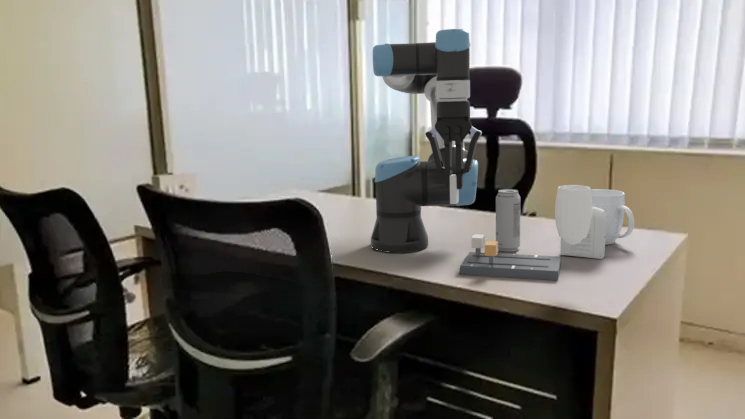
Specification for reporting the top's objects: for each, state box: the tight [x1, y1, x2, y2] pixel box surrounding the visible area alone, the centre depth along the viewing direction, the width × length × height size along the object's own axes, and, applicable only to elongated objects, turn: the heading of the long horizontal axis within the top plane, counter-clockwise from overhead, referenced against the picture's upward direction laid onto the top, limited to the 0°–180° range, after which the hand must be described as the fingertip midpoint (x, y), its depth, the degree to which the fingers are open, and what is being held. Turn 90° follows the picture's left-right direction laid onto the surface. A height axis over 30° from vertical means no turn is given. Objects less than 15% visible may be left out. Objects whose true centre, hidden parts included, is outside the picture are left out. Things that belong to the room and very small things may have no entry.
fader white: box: [471, 233, 486, 255], centre depth 152 cm, size 2×4×4 cm, turn 161°
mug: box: [590, 188, 635, 246], centre depth 166 cm, size 15×11×13 cm
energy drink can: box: [495, 188, 521, 253], centre depth 164 cm, size 6×6×15 cm
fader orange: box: [484, 240, 499, 263], centre depth 145 cm, size 2×4×4 cm, turn 162°
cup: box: [554, 184, 592, 245], centre depth 132 cm, size 7×7×21 cm
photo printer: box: [559, 206, 606, 260], centre depth 155 cm, size 10×4×12 cm, turn 61°
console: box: [459, 251, 562, 281], centre depth 147 cm, size 21×12×2 cm, turn 71°
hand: (454, 202), depth 151 cm, fingers closed
